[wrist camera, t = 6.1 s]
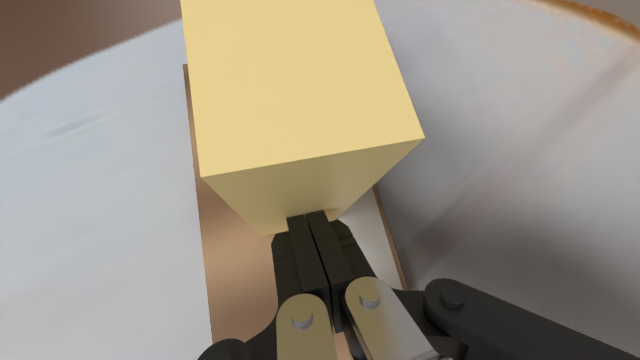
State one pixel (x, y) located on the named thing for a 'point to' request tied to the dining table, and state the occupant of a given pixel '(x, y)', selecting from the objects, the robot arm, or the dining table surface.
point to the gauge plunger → (294, 104)
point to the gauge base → (270, 257)
